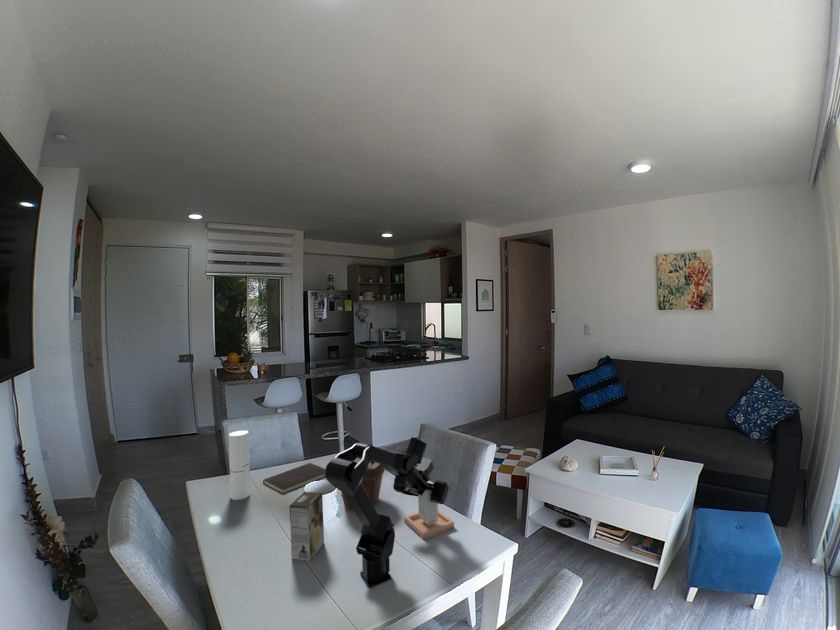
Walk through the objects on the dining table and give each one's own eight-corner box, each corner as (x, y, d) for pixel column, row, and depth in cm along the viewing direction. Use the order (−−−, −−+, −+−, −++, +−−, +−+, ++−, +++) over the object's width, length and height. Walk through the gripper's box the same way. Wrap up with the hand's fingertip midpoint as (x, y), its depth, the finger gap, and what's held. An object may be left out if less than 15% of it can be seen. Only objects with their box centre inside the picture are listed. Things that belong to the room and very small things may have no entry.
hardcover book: (330, 475, 174) (329, 470, 174) (282, 495, 157) (282, 489, 157) (309, 467, 185) (309, 462, 185) (263, 484, 167) (262, 479, 167)
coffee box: (305, 541, 124) (304, 490, 124) (324, 543, 122) (323, 492, 122) (290, 559, 115) (289, 505, 115) (310, 561, 113) (309, 506, 113)
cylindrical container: (254, 493, 157) (252, 432, 157) (237, 501, 151) (235, 437, 151) (243, 489, 161) (241, 429, 161) (226, 497, 155) (225, 434, 155)
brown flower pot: (392, 490, 157) (390, 446, 157) (378, 517, 137) (375, 466, 137) (349, 489, 160) (347, 445, 160) (330, 514, 140) (327, 465, 140)
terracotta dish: (423, 539, 123) (423, 533, 123) (404, 522, 133) (404, 517, 133) (454, 527, 129) (454, 521, 129) (433, 512, 139) (433, 506, 139)
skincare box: (438, 521, 130) (439, 485, 129) (427, 525, 127) (428, 489, 127) (428, 513, 135) (428, 478, 135) (417, 516, 133) (417, 481, 132)
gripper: (445, 458, 122) (462, 480, 132) (397, 448, 133) (416, 469, 142) (433, 493, 116) (451, 514, 125) (383, 479, 126) (404, 500, 135)
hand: (430, 497), depth 132 cm, fingers closed on skincare box, 7 cm apart
